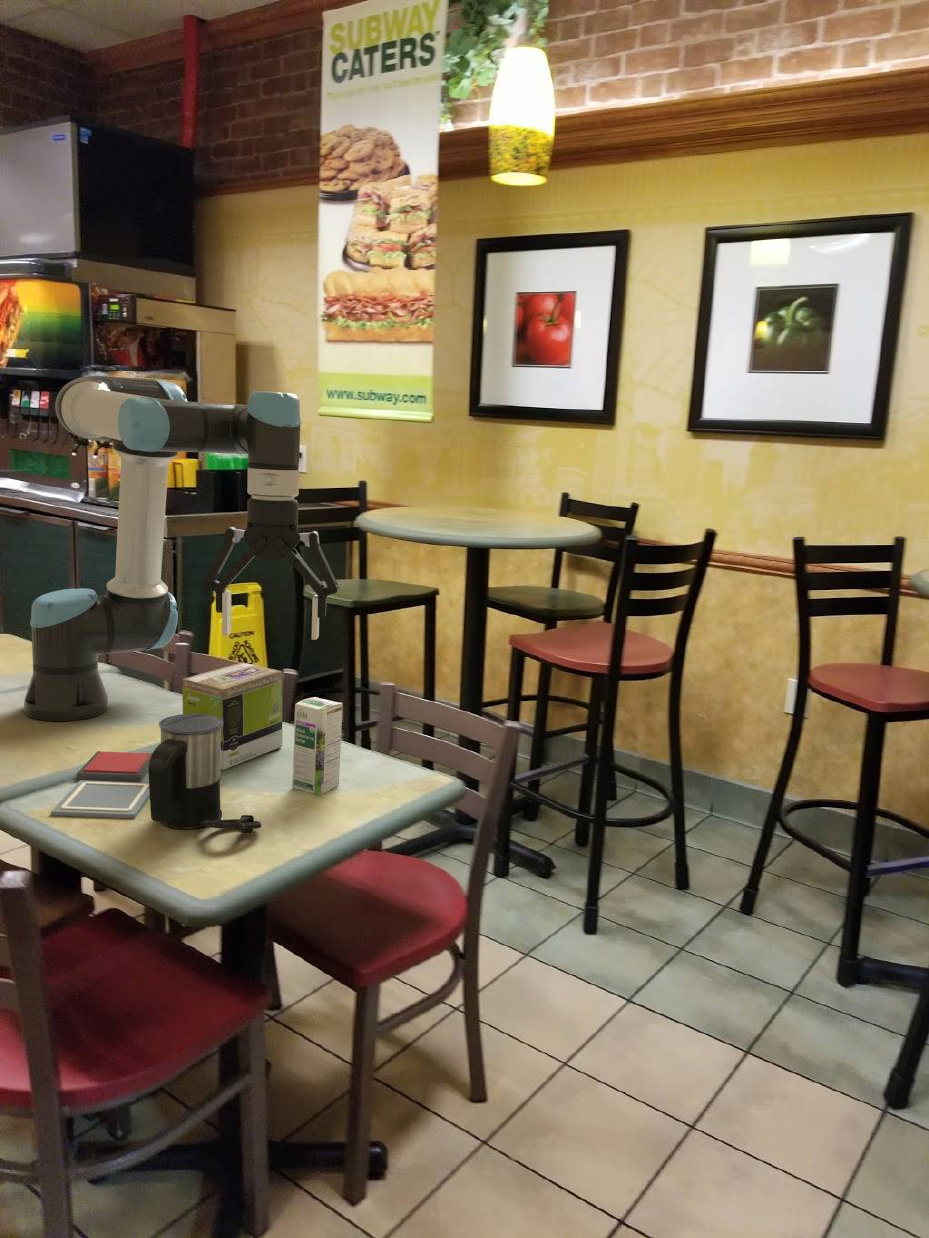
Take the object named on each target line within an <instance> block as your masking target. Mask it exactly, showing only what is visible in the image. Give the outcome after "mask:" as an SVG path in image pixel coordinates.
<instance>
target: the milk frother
mask: <svg viewBox="0 0 929 1238" xmlns="http://www.w3.org/2000/svg"><path fill="white" fill-rule="evenodd" d="M222 725H223V721H222V720H221V719H219V718H218V717H214V716H211V715H204V714H183V713H182V714H175V715H171V716H167V717H165V718H163V719H161V720H160V721H159V722H158V727H159V729H160V743H159V744H158V745H157V746H156V747H155V749H154V750H153V752H152V753H153V754H152V756H151V758H150V762H149V769H148V773H147V775H148V783H149V793H150V797H149V804H150V805H149V806H150V819H151V820H152V821H153V822H157V823H161V824H162V825H164V826H166V827H170V828H174V829H180V830H181V829H182V830H188V829H190V830H191V829H198V828H199V829H200V828H205V827H208V828H212V829H221V830H222V829H225V830H226V829H227V830H236V831H239V832H240V833H242V834H252V833H253V832H254V830H259V829H260V828H262V822H261V821H258V820H255V818H254V815H251V814H243V815H241V817H240V818H233V819H232V818H231V819H221V818H222V816H223V811H222V809H221V808H222V807H221V769H220V756H221V727H222Z"/></svg>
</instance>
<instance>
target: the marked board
mask: <svg viewBox="0 0 929 1238" xmlns="http://www.w3.org/2000/svg"><path fill="white" fill-rule="evenodd" d="M148 800H150V793H149V782H115V781H88V780H78V782H77V783H76V784H75V785H74V786H73V787H72V788H71V790H70V791H69V792H68V793H67V794H65V796H64V797H63V798H62V799H61V800H60V801H59V802H58V804H56V806H55V807H54V808H53V809H52V810H51V813H50V816H55V817H56V816H60V817H61V816H62V817H63V816H64V817H88V818H89V817H91V818H112V819H113V818H118V819H119V818H121V819H136V817H137V816H138V815H139V813H140V812H141V810H142V809H143V808H144V806H145V805H146V803H147V802H148Z"/></svg>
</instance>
